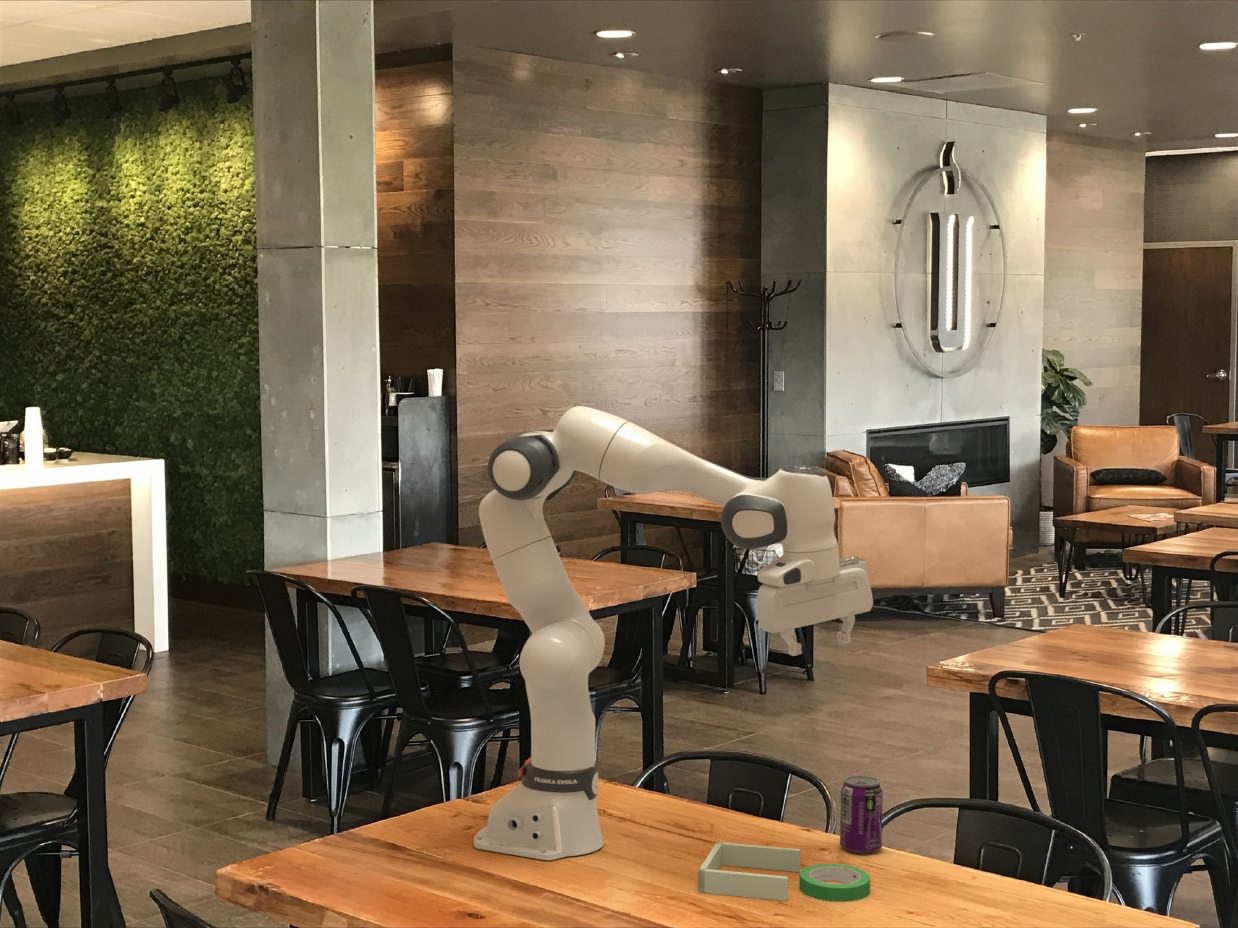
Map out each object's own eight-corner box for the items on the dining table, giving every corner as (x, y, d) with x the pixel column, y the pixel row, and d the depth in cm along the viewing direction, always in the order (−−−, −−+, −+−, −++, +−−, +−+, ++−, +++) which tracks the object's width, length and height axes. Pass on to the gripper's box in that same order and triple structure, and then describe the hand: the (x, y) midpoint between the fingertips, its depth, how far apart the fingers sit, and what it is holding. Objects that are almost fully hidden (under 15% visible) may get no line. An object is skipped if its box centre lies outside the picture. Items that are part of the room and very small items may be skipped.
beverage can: (881, 856, 247) (882, 786, 246) (838, 853, 248) (840, 784, 248) (882, 844, 254) (883, 776, 253) (841, 841, 255) (842, 773, 255)
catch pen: (698, 892, 229) (698, 870, 229) (716, 862, 244) (716, 841, 243) (786, 900, 225) (787, 878, 225) (800, 870, 240) (800, 849, 240)
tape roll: (871, 905, 225) (871, 888, 225) (799, 901, 226) (799, 884, 226) (868, 881, 236) (868, 864, 236) (799, 877, 237) (799, 861, 237)
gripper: (854, 551, 242) (861, 632, 243) (748, 573, 233) (756, 657, 235) (876, 555, 236) (884, 639, 238) (768, 578, 228) (777, 664, 229)
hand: (820, 648), depth 236 cm, fingers open, 8 cm apart
